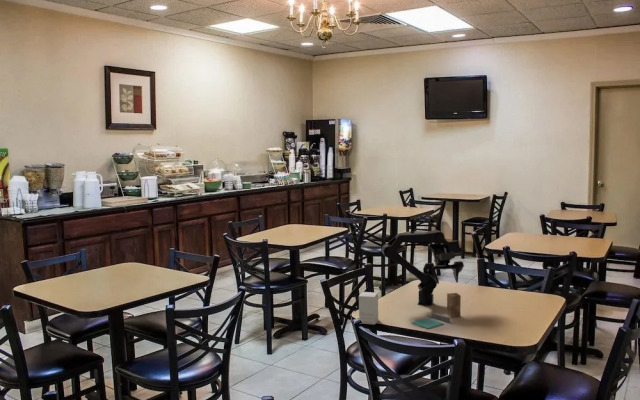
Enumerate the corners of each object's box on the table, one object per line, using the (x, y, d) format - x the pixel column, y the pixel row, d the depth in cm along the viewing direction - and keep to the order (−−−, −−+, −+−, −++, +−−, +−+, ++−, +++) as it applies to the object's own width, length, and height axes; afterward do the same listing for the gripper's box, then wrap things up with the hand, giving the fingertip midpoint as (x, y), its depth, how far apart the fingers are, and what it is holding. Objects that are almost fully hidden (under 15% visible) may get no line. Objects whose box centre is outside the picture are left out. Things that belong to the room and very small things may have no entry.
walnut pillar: (450, 317, 244) (450, 296, 243) (447, 314, 249) (447, 293, 248) (460, 317, 245) (460, 295, 244) (456, 314, 249) (456, 293, 249)
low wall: (431, 317, 245) (431, 312, 245) (433, 316, 246) (433, 312, 246) (448, 322, 237) (448, 318, 237) (450, 322, 238) (450, 317, 238)
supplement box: (378, 319, 243) (378, 292, 242) (374, 325, 236) (374, 296, 235) (362, 318, 245) (362, 291, 244) (358, 323, 238) (358, 295, 237)
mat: (411, 323, 238) (411, 322, 238) (426, 318, 244) (426, 317, 244) (428, 329, 230) (428, 328, 230) (443, 324, 236) (443, 323, 235)
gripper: (424, 246, 255) (432, 275, 246) (462, 244, 258) (471, 272, 248) (419, 259, 264) (427, 287, 254) (456, 257, 266) (465, 285, 257)
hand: (447, 282), depth 253 cm, fingers open, 9 cm apart
